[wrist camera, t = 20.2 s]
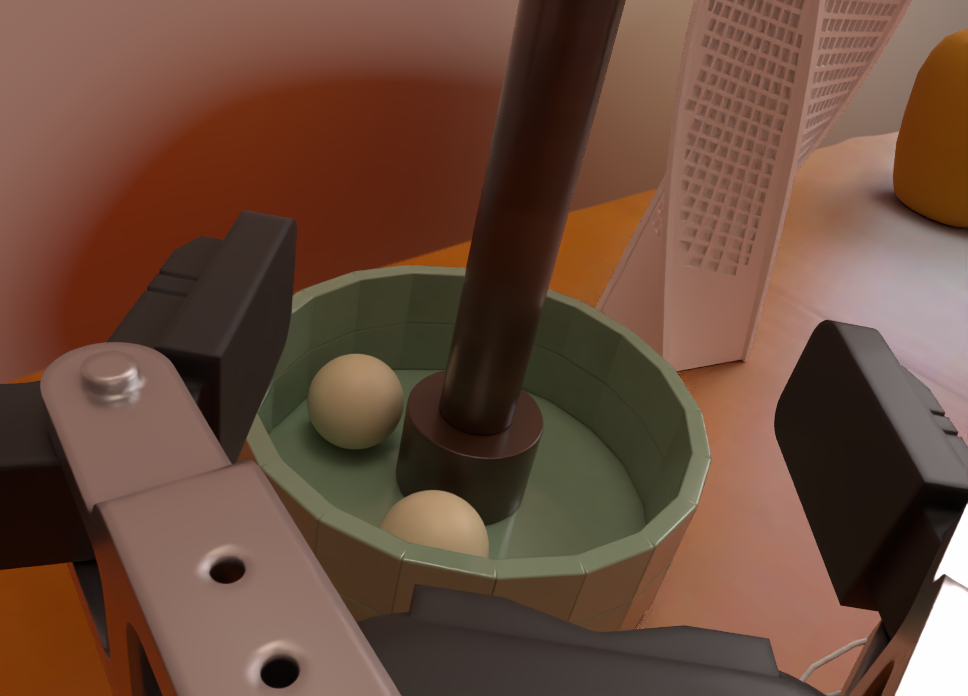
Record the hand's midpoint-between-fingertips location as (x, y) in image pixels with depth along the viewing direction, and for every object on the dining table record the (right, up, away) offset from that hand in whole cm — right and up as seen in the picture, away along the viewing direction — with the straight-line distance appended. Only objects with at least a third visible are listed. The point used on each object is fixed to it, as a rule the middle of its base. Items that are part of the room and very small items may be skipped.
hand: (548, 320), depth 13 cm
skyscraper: (+8, 0, +27) cm, 28 cm away
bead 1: (-5, -2, +15) cm, 16 cm away
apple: (+33, +10, +48) cm, 59 cm away
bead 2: (-2, -6, +11) cm, 12 cm away
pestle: (-2, -5, +15) cm, 16 cm away
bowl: (-2, -6, +15) cm, 16 cm away
